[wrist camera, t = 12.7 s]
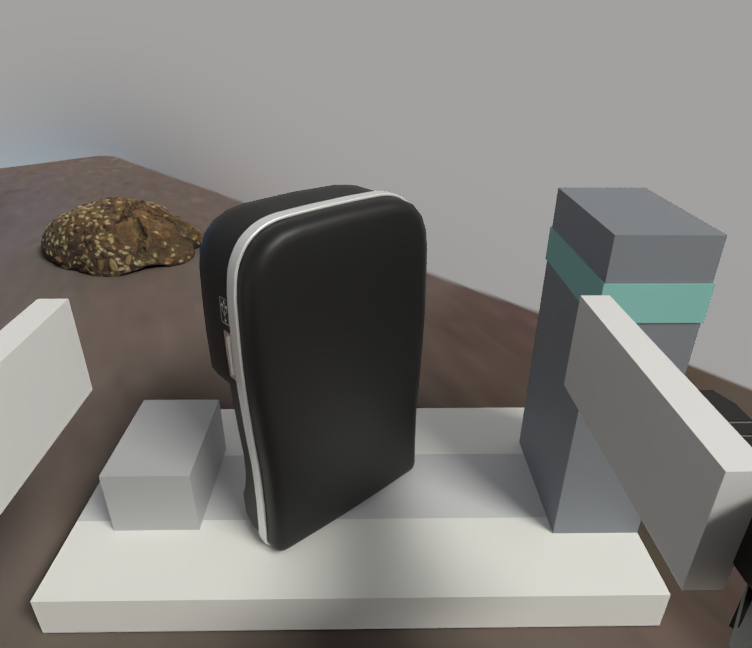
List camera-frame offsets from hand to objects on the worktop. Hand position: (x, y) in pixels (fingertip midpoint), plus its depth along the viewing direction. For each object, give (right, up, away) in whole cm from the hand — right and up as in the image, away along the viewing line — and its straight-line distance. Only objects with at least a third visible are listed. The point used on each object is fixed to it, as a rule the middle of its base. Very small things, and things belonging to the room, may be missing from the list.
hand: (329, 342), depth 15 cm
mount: (0, -7, +8) cm, 11 cm away
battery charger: (-1, -6, +7) cm, 9 cm away
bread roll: (-20, +7, +35) cm, 41 cm away
